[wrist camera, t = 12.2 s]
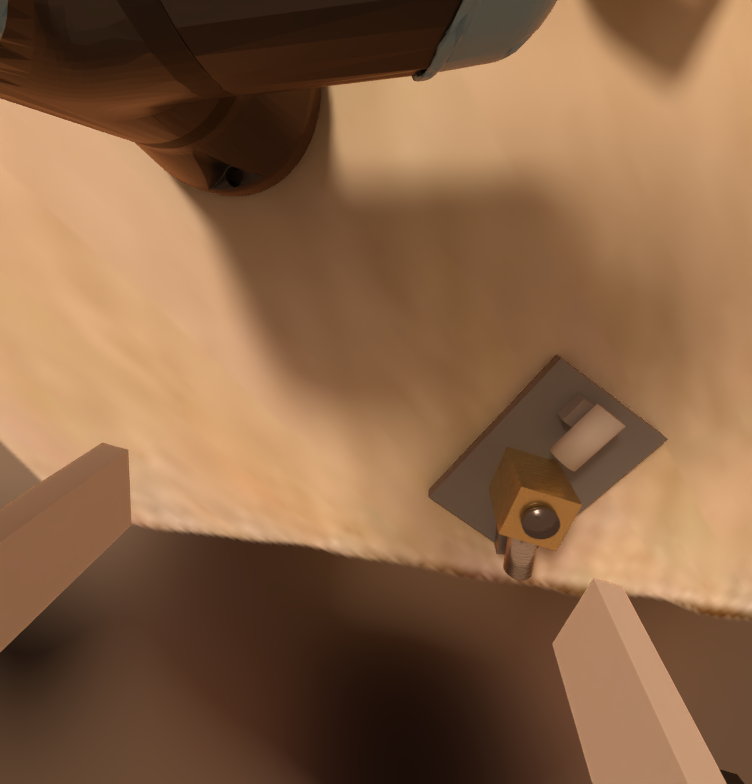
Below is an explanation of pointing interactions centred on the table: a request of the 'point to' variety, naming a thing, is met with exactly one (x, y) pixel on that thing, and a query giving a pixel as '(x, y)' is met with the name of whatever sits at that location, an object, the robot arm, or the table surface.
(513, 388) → the table surface
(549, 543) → the orange rectangular block
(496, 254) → the table surface
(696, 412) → the table surface
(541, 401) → the bolted mounting plate
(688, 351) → the table surface
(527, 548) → the shaft
